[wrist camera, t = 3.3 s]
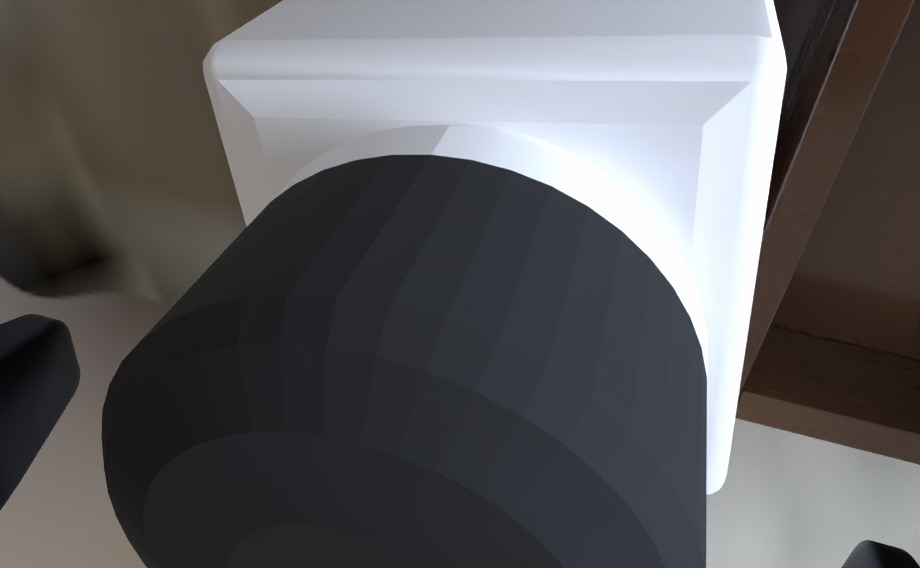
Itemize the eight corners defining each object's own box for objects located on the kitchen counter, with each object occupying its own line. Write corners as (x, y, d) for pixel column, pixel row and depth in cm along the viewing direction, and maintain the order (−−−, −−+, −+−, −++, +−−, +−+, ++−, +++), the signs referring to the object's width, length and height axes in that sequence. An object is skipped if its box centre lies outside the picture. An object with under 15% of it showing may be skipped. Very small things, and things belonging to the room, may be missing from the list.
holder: (1562, -29, 12) (1779, 33, 9) (1140, 430, 18) (1206, 539, 15) (345, -208, 14) (273, -196, 12) (340, 240, 21) (292, 307, 18)
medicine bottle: (376, -68, 15) (-158, 257, 6) (760, -87, 14) (873, 343, 4) (419, 241, 19) (141, 728, 10) (720, 259, 18) (730, 880, 8)
